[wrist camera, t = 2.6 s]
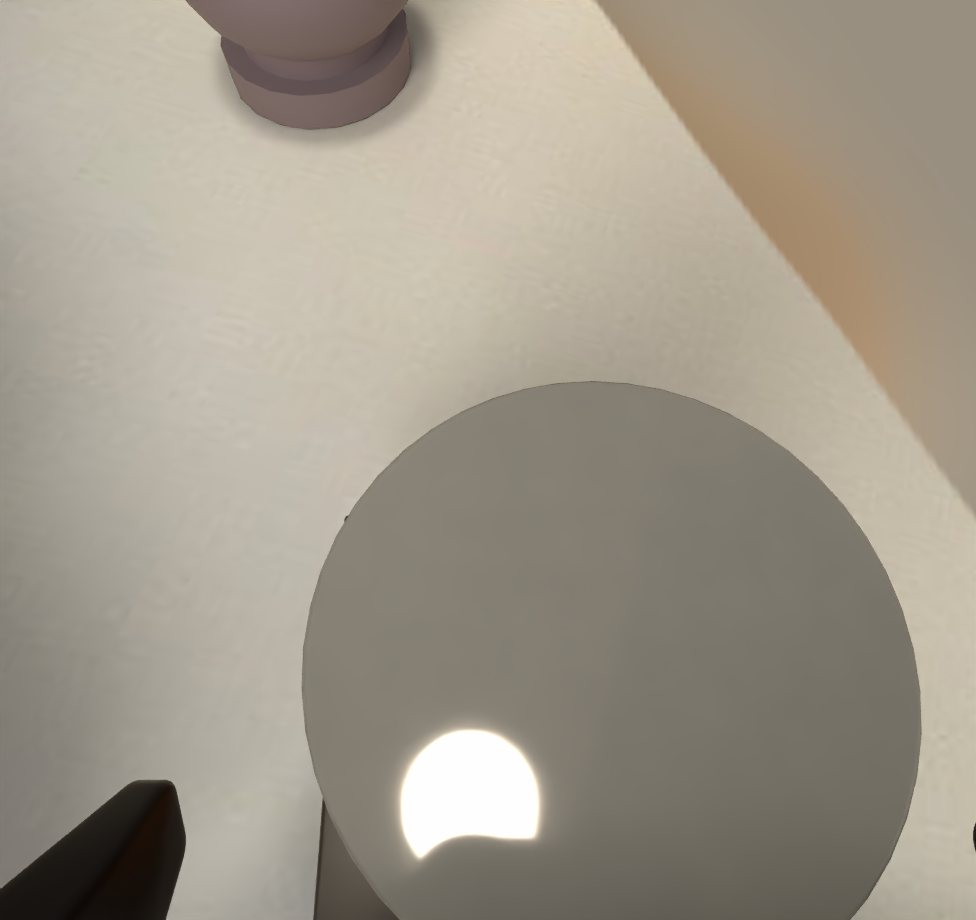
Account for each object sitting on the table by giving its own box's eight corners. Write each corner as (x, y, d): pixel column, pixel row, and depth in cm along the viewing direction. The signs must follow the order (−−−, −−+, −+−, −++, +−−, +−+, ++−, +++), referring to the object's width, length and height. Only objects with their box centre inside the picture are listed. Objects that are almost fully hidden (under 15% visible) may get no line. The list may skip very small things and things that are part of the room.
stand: (723, 927, 16) (796, 974, 12) (350, 929, 16) (307, 977, 12) (682, 563, 19) (730, 512, 15) (372, 565, 19) (344, 513, 15)
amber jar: (715, 854, 13) (1031, 964, 5) (416, 898, 12) (309, 1079, 5) (651, 564, 15) (813, 352, 7) (392, 596, 14) (294, 410, 7)
